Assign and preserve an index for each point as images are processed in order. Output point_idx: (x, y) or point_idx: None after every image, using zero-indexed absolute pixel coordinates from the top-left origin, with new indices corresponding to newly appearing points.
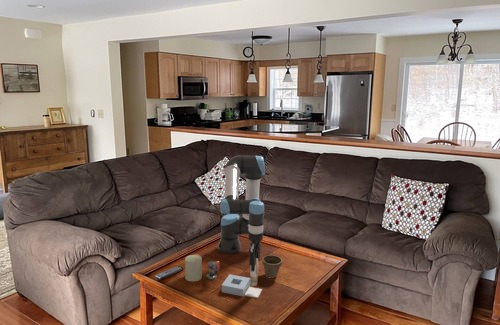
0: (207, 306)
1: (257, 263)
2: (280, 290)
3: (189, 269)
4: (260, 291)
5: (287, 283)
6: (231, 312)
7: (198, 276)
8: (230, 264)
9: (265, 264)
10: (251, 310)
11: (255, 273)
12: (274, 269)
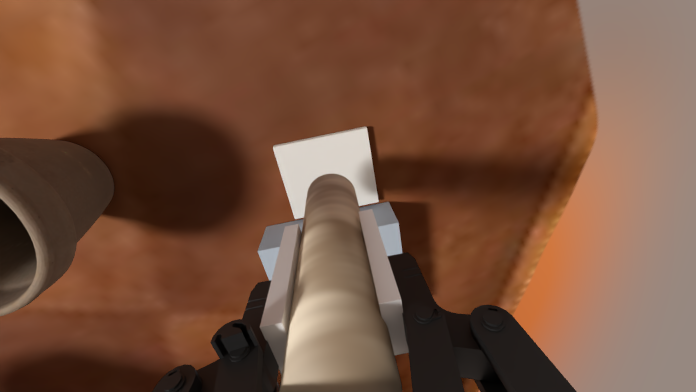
0: (524, 280)
1: (344, 305)
2: (190, 28)
3: None
4: (302, 142)
5: (58, 18)
6: (540, 179)
7: None
8: None
9: (62, 248)
10: (495, 99)
11: (377, 227)
12: (30, 160)
